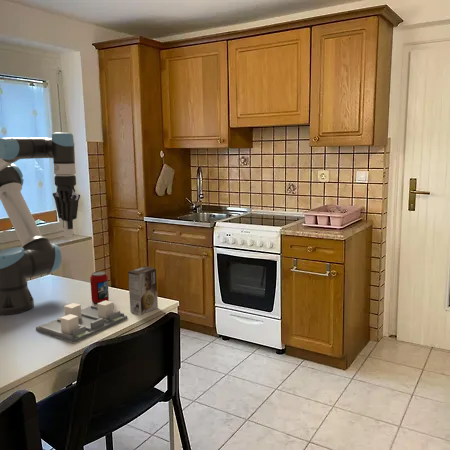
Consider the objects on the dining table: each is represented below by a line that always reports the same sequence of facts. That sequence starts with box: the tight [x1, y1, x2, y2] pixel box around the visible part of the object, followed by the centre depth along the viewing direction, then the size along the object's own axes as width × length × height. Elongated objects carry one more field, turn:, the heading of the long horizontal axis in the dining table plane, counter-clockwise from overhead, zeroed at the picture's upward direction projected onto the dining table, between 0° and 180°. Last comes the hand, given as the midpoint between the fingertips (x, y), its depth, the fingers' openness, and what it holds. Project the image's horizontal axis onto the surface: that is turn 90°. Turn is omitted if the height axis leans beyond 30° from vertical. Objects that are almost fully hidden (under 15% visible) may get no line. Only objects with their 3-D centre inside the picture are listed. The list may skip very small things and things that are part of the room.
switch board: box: [35, 304, 128, 344], centre depth 161 cm, size 20×24×3 cm
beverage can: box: [89, 270, 110, 304], centre depth 183 cm, size 7×7×12 cm
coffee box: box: [127, 265, 159, 316], centre depth 173 cm, size 9×6×16 cm
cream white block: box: [96, 300, 115, 319], centre depth 165 cm, size 4×4×5 cm
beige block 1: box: [63, 302, 82, 319], centre depth 163 cm, size 4×4×5 cm
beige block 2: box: [59, 314, 79, 334], centre depth 152 cm, size 4×4×5 cm
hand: (68, 237), depth 172 cm, fingers closed
